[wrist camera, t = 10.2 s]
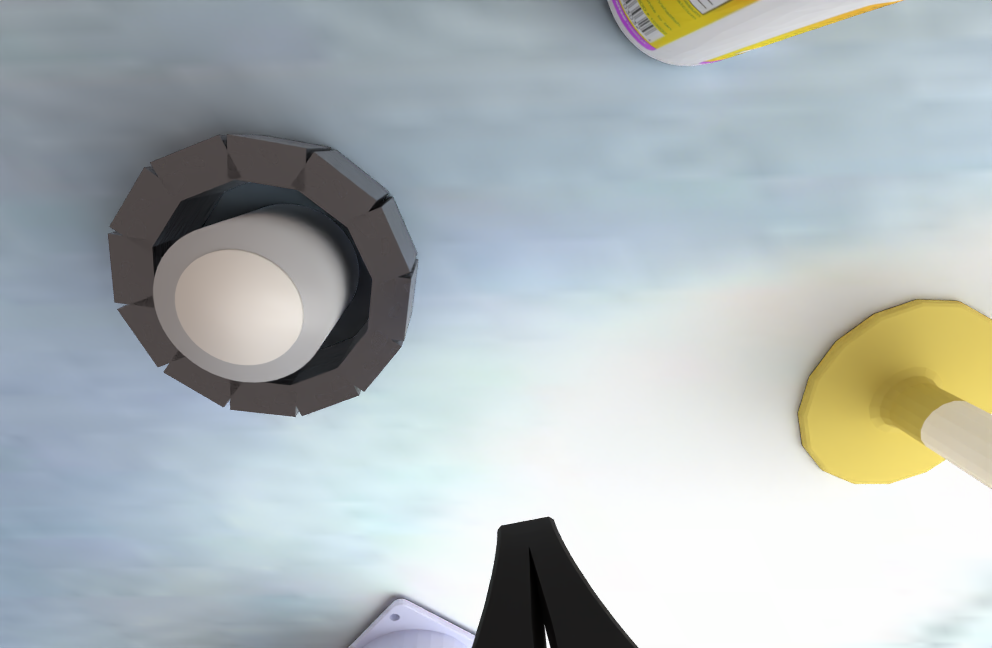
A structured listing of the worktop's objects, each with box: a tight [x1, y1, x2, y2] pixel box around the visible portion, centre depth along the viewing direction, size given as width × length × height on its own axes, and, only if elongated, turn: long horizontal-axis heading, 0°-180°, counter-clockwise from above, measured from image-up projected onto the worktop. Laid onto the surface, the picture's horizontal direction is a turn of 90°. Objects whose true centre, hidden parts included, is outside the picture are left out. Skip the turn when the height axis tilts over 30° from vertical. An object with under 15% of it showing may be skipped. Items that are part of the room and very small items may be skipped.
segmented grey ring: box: [108, 134, 418, 417], centre depth 18 cm, size 10×10×3 cm
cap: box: [153, 204, 359, 383], centre depth 17 cm, size 5×5×5 cm
